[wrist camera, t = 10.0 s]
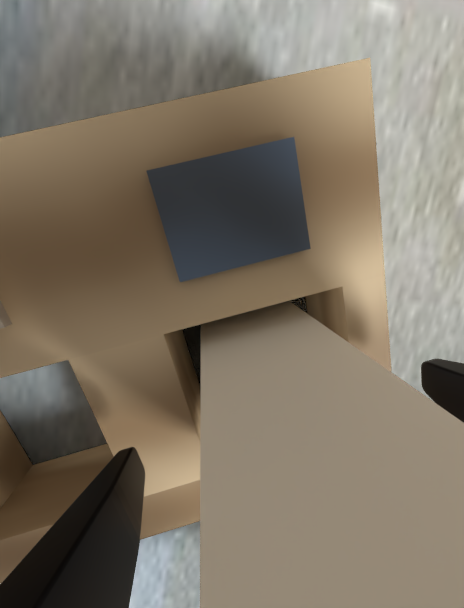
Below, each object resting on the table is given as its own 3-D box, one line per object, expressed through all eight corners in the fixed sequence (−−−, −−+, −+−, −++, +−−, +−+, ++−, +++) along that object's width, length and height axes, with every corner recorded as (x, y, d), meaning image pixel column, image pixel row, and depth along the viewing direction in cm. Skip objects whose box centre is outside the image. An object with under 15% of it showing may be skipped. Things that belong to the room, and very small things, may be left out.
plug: (296, 369, 13) (581, 756, 3) (221, 390, 13) (287, 872, 3) (283, 296, 12) (648, 550, 2) (200, 318, 12) (200, 708, 2)
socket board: (349, 405, 14) (402, 465, 10) (20, 503, 13) (-51, 607, 9) (313, 118, 10) (377, 49, 6) (-159, 225, 9) (-403, 216, 5)
